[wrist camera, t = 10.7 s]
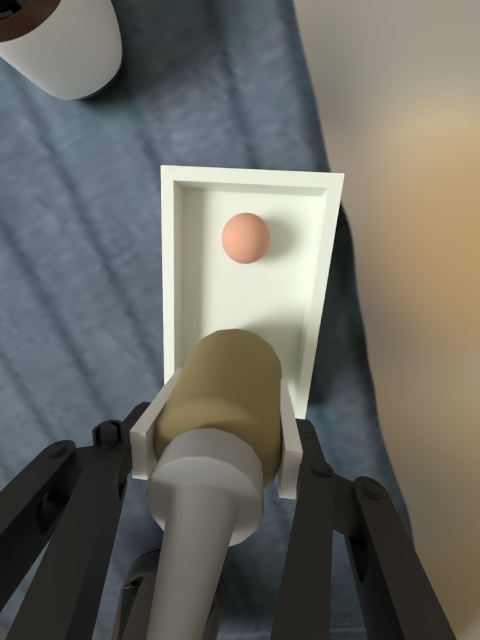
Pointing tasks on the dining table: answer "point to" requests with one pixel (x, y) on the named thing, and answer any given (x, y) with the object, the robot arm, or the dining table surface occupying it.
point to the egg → (245, 238)
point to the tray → (248, 279)
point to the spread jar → (63, 44)
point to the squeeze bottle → (211, 472)
